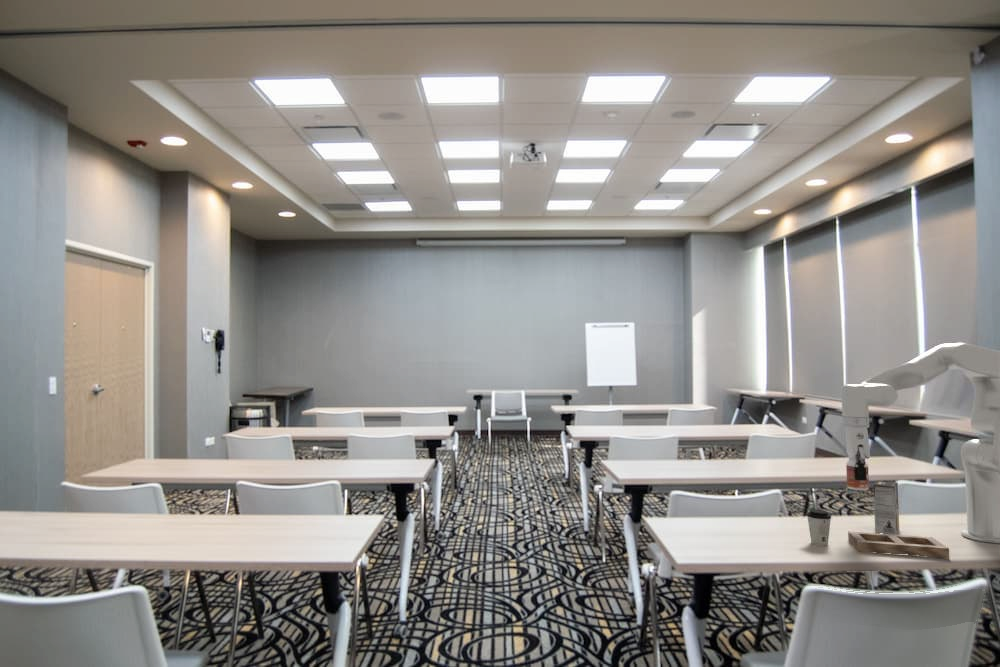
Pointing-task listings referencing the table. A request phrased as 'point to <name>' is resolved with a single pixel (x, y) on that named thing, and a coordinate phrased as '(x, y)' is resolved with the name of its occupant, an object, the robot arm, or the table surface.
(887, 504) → the coffee box
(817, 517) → the coffee cup
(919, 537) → the holder frame
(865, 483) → the pill bottle
